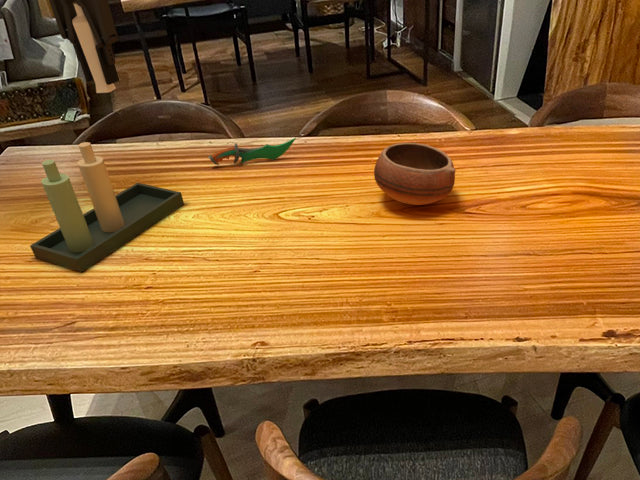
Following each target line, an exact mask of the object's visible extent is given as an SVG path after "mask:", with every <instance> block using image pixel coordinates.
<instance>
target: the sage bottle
mask: <svg viewBox="0 0 640 480" xmlns="http://www.w3.org/2000/svg"><path fill="white" fill-rule="evenodd" d="M41 165H42V167H43V170H44V172H45V175H46V176H45V177H44V178H42V180H41V181H40V182H41V185H42V188H43V189H44V192H45V195H46V197H47V200H48V202H49V205H50V207H51V209H52V212H53V214H54V217H55V219H56V222H57V225H58V226H59V228H60V229H61V231H62V234H63V236H64V239H65V241H66V243H67V246H68V248H69V250H70V251H71V252H74V253H80V252H85V251H86V250H88V249H89V248H91V247H92V246H94V242H93V239H92V237H91V234H90V231H89V229H88V226H87V224H86V221H85V218H84V216H83V214H84V213H83V211H82V208H81V205H80V203H79V200H78V197H77V195H76V192H75V189H74V187H73V184H72V182H71V179H70V176H69V175H68V174H65V173H60V171H59V169H58V166H57V163H56V161H55V160H54V159H46V160H44V161H42V162H41Z"/></svg>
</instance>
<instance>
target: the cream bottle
mask: <svg viewBox="0 0 640 480" xmlns="http://www.w3.org/2000/svg"><path fill="white" fill-rule="evenodd" d="M78 148H79V151H80V154H81V157H82V158H80V159H79V160H78V161H77V163H76V164H77V166H78V169H79V172H80V176H81V178H82V180H83V183H84V187H85V188H86V192H87V194H88V197H89V200H90V203H91V205H92V209H93V208H94V211H95V213H96V216H97V219H98V222H99V224H100V227H101V230H102V231H104V232H115V231H118V230H119V229H121V228H122V227H124V226H125V223H124V220H123V217H122V214H121V211H120V208H119V205H118V202H117V199H116V196H115V195H116V193H115V189H114V186H113V184H112V181H111V178H110V175H109V172H108V168H107V165H106V163H105V160H104V158H103V157H102V156H98V155H95V153H94V150H93V147H92V144H91V142H88V141H84V142H80V143H79V144H78Z"/></svg>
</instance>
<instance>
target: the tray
mask: <svg viewBox="0 0 640 480" xmlns="http://www.w3.org/2000/svg"><path fill="white" fill-rule="evenodd" d="M115 196H116V199H117V202H118V205H119V208H120V211H121V214H122V217H123V220H124V223H125V226H124V227H122V228H121V229H119V230H118V231H115V232H104V231H102V230H101V227H100V224H99V222H98V219H97V216H96V213H95V211H94V208H93V207H92V208H91V209H90V210H88V211H86V212H85V213H83V216H84V218H85V221H86V224H87V226H88V229H89V231H90V234H91V237H92V239H93V242H94V246H92V247H91V248H89V249H88V250H86V251H85V252H80V253H74V252H71V251H70V250H69V248H68V246H67V243H66V241H65V239H64V236H63V234H62V231H61V229H60V227H59V228H57V229H55V230H54V231H52V232H50V233H49V234H47V235H45V236H43V237H42V238H40V239H39V240H37V241H35V242H33V243H32V244H30V245H29V247H30V250H31V251H32V254H33V255H34V258H35V259H36V260H37V259H38V260H41V261H44V262H48V263H51V264H54V265H56V266H61V267H63V268H67V269H70V270H74V271H77V272H80V273H83V272H85V271H86V270H88V269H89V268H91V267H92V266H94V265H95V264H96V263H98V262H100V261H101V260H103V259H104V258H106V257H107V256H109V255H110V254H112V253H113V252H114V251H116V250H118V249H119V248H120V247H122V246H124V245H125V244H126V243H128V242H130V241H131V240H133V239H134V238H136V237H138V235H140V234H142V233H143V232H145V231H147V230H148V229H150V228H151V227H152V226H153V225H155V224H156V223H159V222H160V221H161V220H163V219H164V218H166V217H167V216H169V215H170V214H172V213H173V212H175V211H176V210H178V209H179V208H181V207H182V206H183V205H185V203H184V198H183V194H182V192H181V191H177V190H172V189H168V188H163V187H159V186H155V185H150V184H146V183H141V182H135V183H134V184H133V185H131V186H129V187H127V188H126V189H124V190H122V191H121V192H118V193H117V194H115Z"/></svg>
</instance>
